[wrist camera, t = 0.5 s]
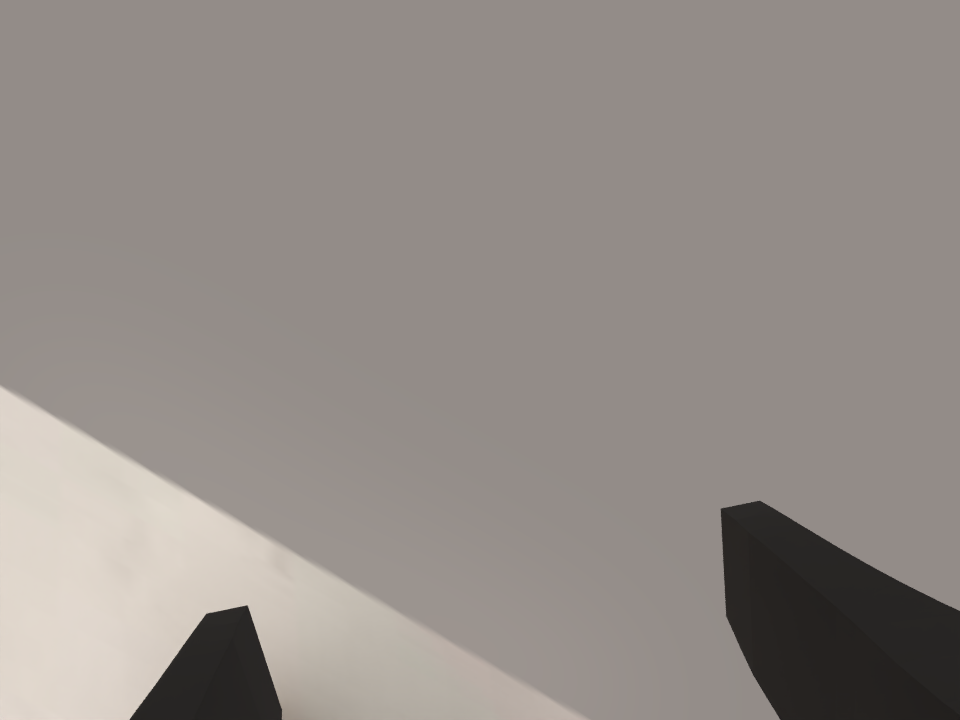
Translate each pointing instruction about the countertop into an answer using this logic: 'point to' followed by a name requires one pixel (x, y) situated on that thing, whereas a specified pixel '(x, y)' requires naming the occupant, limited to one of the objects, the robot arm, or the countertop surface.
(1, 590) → the countertop surface
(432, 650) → the countertop surface
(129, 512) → the countertop surface
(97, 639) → the countertop surface
